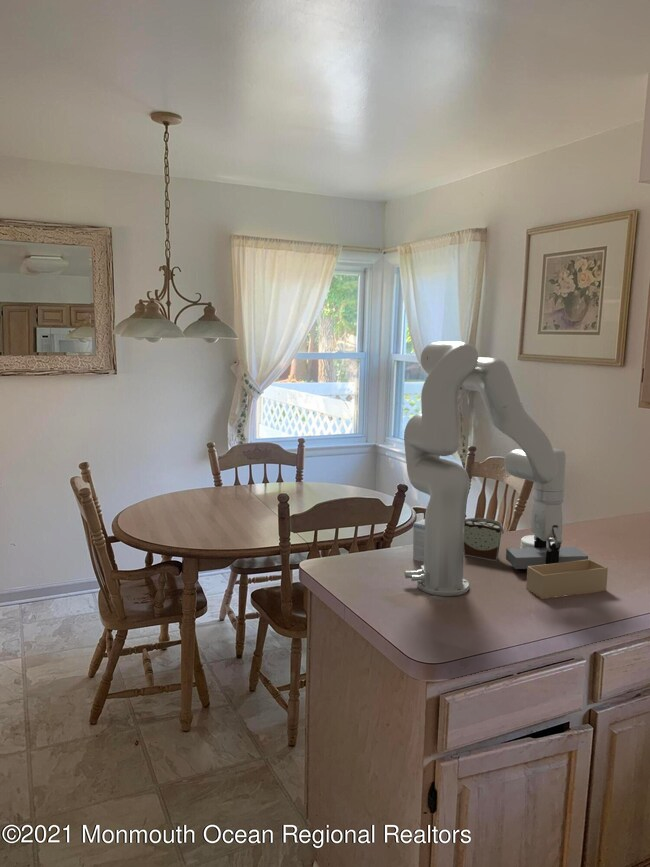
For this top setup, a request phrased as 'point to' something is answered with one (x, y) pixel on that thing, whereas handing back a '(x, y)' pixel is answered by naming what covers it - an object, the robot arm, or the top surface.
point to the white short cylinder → (529, 541)
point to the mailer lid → (540, 556)
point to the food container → (482, 538)
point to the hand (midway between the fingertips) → (545, 559)
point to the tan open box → (566, 578)
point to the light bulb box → (418, 540)
